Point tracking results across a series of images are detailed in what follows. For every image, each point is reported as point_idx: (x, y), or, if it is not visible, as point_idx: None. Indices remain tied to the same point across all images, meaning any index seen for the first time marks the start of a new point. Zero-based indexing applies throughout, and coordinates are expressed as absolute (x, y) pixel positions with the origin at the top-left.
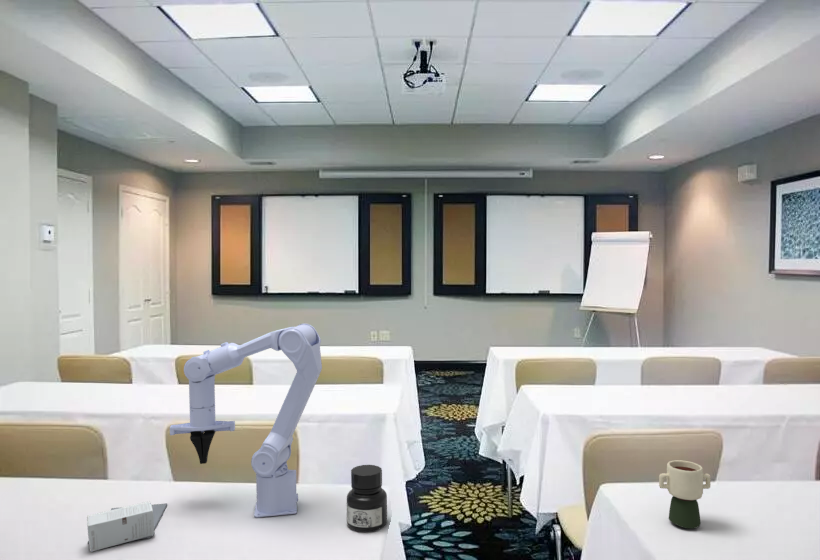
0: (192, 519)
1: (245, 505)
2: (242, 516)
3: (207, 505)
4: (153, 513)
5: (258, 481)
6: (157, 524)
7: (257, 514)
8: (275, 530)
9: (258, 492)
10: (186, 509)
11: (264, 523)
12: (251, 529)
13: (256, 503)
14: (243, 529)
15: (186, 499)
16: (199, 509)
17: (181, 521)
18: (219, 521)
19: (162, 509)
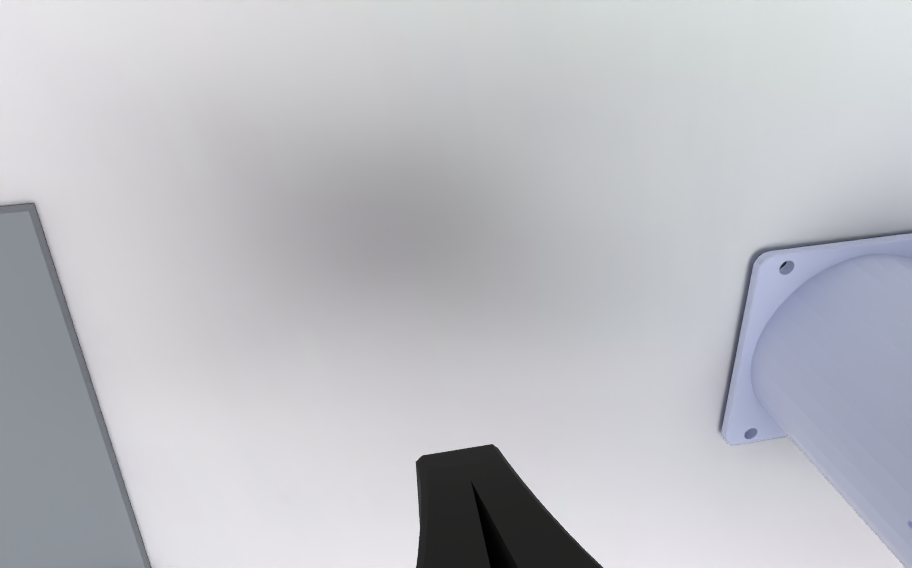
0: (348, 436)
1: (680, 262)
2: (655, 409)
3: (404, 236)
4: (10, 389)
5: (893, 552)
6: (128, 499)
7: (744, 432)
8: (796, 541)
9: (835, 487)
10: (251, 291)
11: (760, 483)
12: (692, 535)
13: (760, 290)
14: (654, 536)
15: (171, 85)
16: (357, 299)
17: (281, 459)
18: (525, 461)
19: (51, 326)
